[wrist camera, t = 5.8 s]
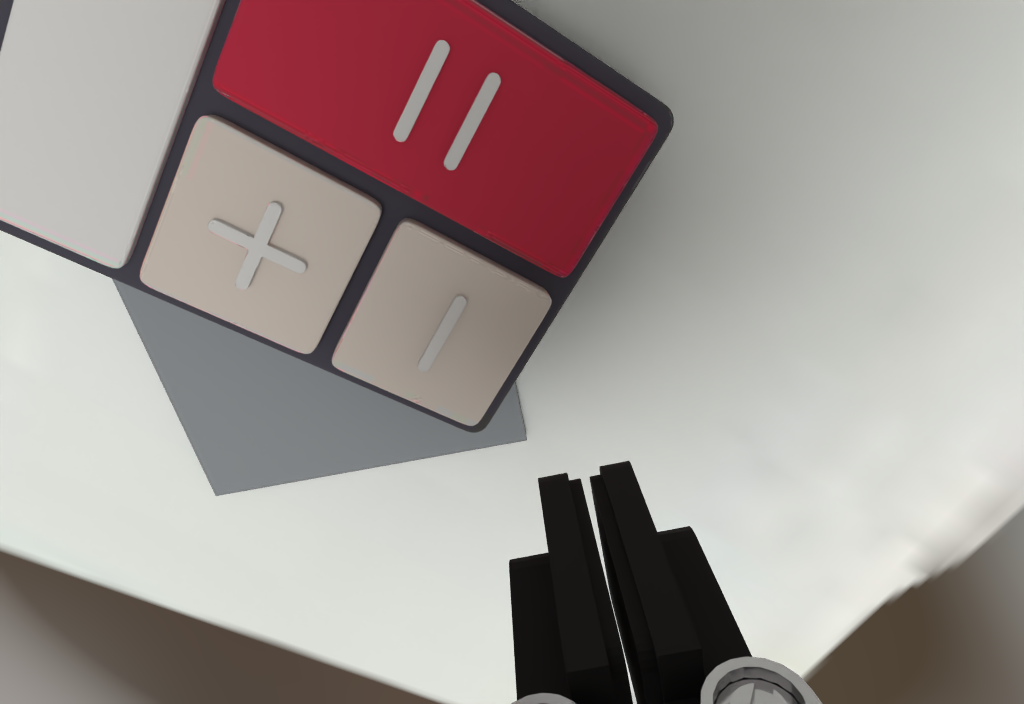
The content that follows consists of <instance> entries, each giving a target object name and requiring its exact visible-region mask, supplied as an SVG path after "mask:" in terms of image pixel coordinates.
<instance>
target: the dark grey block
mask: <svg viewBox="0 0 1024 704" xmlns="http://www.w3.org/2000/svg"><path fill="white" fill-rule="evenodd" d="M673 123H674V118H673V114H672V112H671V110H670V109H669V108H668V107H667V106H666V105H665V104H663V103H662V102H660V101H659V100H657V99H656V98H655V97H653V96H652V95H650V94H649V93H647V92H646V91H644V90H643V89H641V88H640V87H638V86H637V85H635V84H634V83H632V82H631V81H629V80H628V79H626V78H625V77H623V76H622V75H621V74H619V73H618V72H616V71H615V70H613V69H612V68H610V67H609V66H607V65H606V64H604V63H603V62H601V61H600V60H598V59H597V58H595V57H594V56H592V55H591V54H589V53H588V52H586V51H585V50H584V49H582V48H581V47H579V46H578V45H576V44H575V43H573V42H572V41H570V40H569V39H567V38H566V37H564V36H563V35H561V34H560V33H558V32H557V31H555V30H554V29H552V28H551V27H549V26H548V25H547V24H545V23H544V22H542V21H541V20H539V19H538V18H536V17H535V16H533V15H532V14H530V13H529V12H527V11H526V10H524V9H523V8H521V7H520V6H518V5H517V4H515V3H514V2H513V1H511V0H0V230H1V231H4V232H6V233H8V234H11V235H13V236H15V237H18V238H20V239H22V240H25V241H27V242H29V243H32V244H34V245H36V246H38V247H41V248H43V249H45V250H48V251H50V252H52V253H55V254H57V255H59V256H62V257H64V258H66V259H69V260H71V261H73V262H76V263H78V264H80V265H82V266H85V267H87V268H89V269H92V270H94V271H96V272H99V273H101V274H103V275H106V276H108V277H110V278H113V279H115V280H117V281H119V282H122V283H124V284H126V285H129V286H131V287H133V288H136V289H138V290H140V291H143V292H145V293H147V294H150V295H152V296H154V297H157V298H159V299H161V300H163V301H166V302H168V303H170V304H173V305H175V306H177V307H180V308H182V309H184V310H187V311H189V312H191V313H194V314H196V315H198V316H200V317H203V318H205V319H207V320H210V321H212V322H214V323H217V324H219V325H221V326H224V327H226V328H228V329H231V330H233V331H235V332H238V333H240V334H242V335H244V336H247V337H249V338H251V339H254V340H256V341H258V342H261V343H263V344H265V345H268V346H270V347H272V348H275V349H277V350H279V351H281V352H284V353H286V354H288V355H291V356H293V357H295V358H298V359H300V360H302V361H305V362H307V363H309V364H312V365H314V366H316V367H319V368H321V369H323V370H325V371H328V372H330V373H332V374H335V375H337V376H339V377H342V378H344V379H346V380H349V381H351V382H353V383H356V384H358V385H360V386H362V387H365V388H367V389H369V390H372V391H374V392H376V393H379V394H381V395H383V396H386V397H388V398H390V399H393V400H395V401H397V402H400V403H402V404H404V405H406V406H409V407H411V408H413V409H416V410H418V411H420V412H423V413H425V414H427V415H430V416H432V417H434V418H437V419H439V420H441V421H444V422H446V423H448V424H450V425H453V426H455V427H457V428H460V429H462V430H465V431H467V432H471V433H477V432H480V431H482V430H484V429H485V428H486V427H487V425H488V424H489V422H490V421H491V419H492V418H493V416H494V415H495V413H496V411H497V410H498V408H499V406H500V405H501V403H502V402H503V400H504V398H505V397H506V395H507V394H508V392H509V390H510V389H511V387H512V386H513V384H514V382H515V381H516V379H517V378H518V376H519V374H520V373H521V371H522V370H523V368H524V366H525V365H526V363H527V362H528V360H529V358H530V357H531V355H532V354H533V352H534V350H535V349H536V347H537V346H538V344H539V342H540V341H541V339H542V338H543V336H544V334H545V333H546V331H547V329H548V328H549V326H550V325H551V323H552V321H553V320H554V318H555V317H556V315H557V313H558V312H559V310H560V309H561V307H562V305H563V304H564V302H565V301H566V299H567V297H568V296H569V294H570V293H571V291H572V289H573V288H574V286H575V285H576V283H577V281H578V280H579V278H580V277H581V275H582V273H583V272H584V270H585V269H586V267H587V265H588V264H589V262H590V261H591V259H592V257H593V256H594V254H595V252H596V251H597V249H598V248H599V246H600V244H601V243H602V241H603V240H604V238H605V236H606V235H607V233H608V232H609V230H610V228H611V227H612V225H613V224H614V222H615V220H616V219H617V217H618V216H619V214H620V212H621V211H622V209H623V208H624V206H625V204H626V203H627V201H628V200H629V198H630V196H631V195H632V193H633V192H634V190H635V188H636V187H637V185H638V184H639V182H640V180H641V179H642V177H643V175H644V174H645V172H646V171H647V169H648V167H649V166H650V164H651V163H652V161H653V159H654V158H655V156H656V155H657V153H658V151H659V150H660V148H661V147H662V145H663V143H664V142H665V140H666V139H667V137H668V135H669V133H670V131H671V130H672V127H673Z"/></svg>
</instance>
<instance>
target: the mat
mask: <svg viewBox="0 0 1024 704" xmlns="http://www.w3.org/2000/svg"><path fill="white" fill-rule="evenodd" d="M112 279H113V278H112ZM113 281H114V283H115V286H116V288H117V290H118V292H119V294H120V296H121V298H122V300H123V302H124V304H125V307H126V309H127V311H128V313H129V315H130V317H131V319H132V321H133V323H134V325H135V327H136V330H137V332H138V334H139V336H140V338H141V340H142V342H143V344H144V346H145V348H146V351H147V353H148V355H149V357H150V359H151V361H152V363H153V365H154V367H155V369H156V372H157V374H158V376H159V378H160V380H161V382H162V384H163V386H164V388H165V390H166V392H167V395H168V397H169V399H170V401H171V403H172V405H173V407H174V409H175V411H176V413H177V416H178V418H179V420H180V422H181V424H182V426H183V428H184V430H185V432H186V434H187V437H188V439H189V441H190V443H191V445H192V447H193V449H194V451H195V453H196V455H197V457H198V460H199V462H200V464H201V466H202V468H203V470H204V472H205V474H206V476H207V478H208V481H209V483H210V485H211V487H212V489H213V491H214V493H215V495H216V496H219V495H224V494H230V493H236V492H241V491H247V490H252V489H258V488H263V487H269V486H274V485H280V484H286V483H291V482H297V481H302V480H308V479H313V478H319V477H325V476H330V475H336V474H341V473H347V472H352V471H358V470H364V469H369V468H375V467H380V466H386V465H391V464H397V463H403V462H408V461H414V460H419V459H425V458H430V457H436V456H442V455H447V454H453V453H458V452H464V451H469V450H475V449H481V448H486V447H492V446H497V445H503V444H508V443H514V442H520V441H525V440H527V438H526V432H525V427H524V422H523V417H522V412H521V407H520V402H519V397H518V392H517V388H516V383H515V382H514V384H513V386H512V387H511V389H510V390H509V392H508V394H507V395H506V397H505V398H504V400H503V402H502V403H501V405H500V406H499V408H498V410H497V411H496V413H495V415H494V416H493V418H492V419H491V421H490V422H489V424H488V425H487V427H486V428H485V429H484V430H482V431H480V432H477V433H471V432H467V431H465V430H462V429H460V428H457V427H455V426H453V425H450V424H448V423H446V422H444V421H441V420H439V419H437V418H434V417H432V416H430V415H427V414H425V413H423V412H420V411H418V410H416V409H413V408H411V407H409V406H406V405H404V404H402V403H400V402H397V401H395V400H393V399H390V398H388V397H386V396H383V395H381V394H379V393H376V392H374V391H372V390H369V389H367V388H365V387H362V386H360V385H358V384H356V383H353V382H351V381H349V380H346V379H344V378H342V377H339V376H337V375H335V374H332V373H330V372H328V371H325V370H323V369H321V368H319V367H316V366H314V365H312V364H309V363H307V362H305V361H302V360H300V359H298V358H295V357H293V356H291V355H288V354H286V353H284V352H281V351H279V350H277V349H275V348H272V347H270V346H268V345H265V344H263V343H261V342H258V341H256V340H254V339H251V338H249V337H247V336H244V335H242V334H240V333H238V332H235V331H233V330H231V329H228V328H226V327H224V326H221V325H219V324H217V323H214V322H212V321H210V320H207V319H205V318H203V317H200V316H198V315H196V314H194V313H191V312H189V311H187V310H184V309H182V308H180V307H177V306H175V305H173V304H170V303H168V302H166V301H163V300H161V299H159V298H157V297H154V296H152V295H150V294H147V293H145V292H143V291H140V290H138V289H136V288H133V287H131V286H129V285H126V284H124V283H122V282H119V281H117V280H115V279H113Z"/></svg>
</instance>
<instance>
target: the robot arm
mask: <svg viewBox="0 0 1024 704" xmlns="http://www.w3.org/2000/svg"><path fill="white" fill-rule="evenodd" d="M538 482H539V489H540V496H541V503H542V510H543V517H544V524H545V531H546V538H547V545H548V552H549V553H544V554H538V555H533V556H528V557H522V558H517V559H512V560H510V562H509V572H510V589H511V605H512V622H513V639H514V656H515V673H516V689H517V701H515V702H513V703H512V704H633V702H632V696H631V690H630V684H629V678H628V673H627V668H626V663H625V658H624V654H623V649H622V645H621V641H620V637H619V632H620V636H621V640H622V644H623V648H624V652H625V656H626V660H627V664H628V668H629V672H630V676H631V680H632V684H633V689H634V693H635V697H636V701H637V704H822V703H821V701H820V700H819V699H818V697H817V696H816V695H815V693H814V692H813V690H812V689H811V688H810V687H809V686H808V685H807V684H806V683H805V681H804V680H803V679H802V678H801V677H800V676H799V675H798V674H796V673H795V672H793V671H792V670H790V669H788V668H787V667H785V666H784V665H782V664H780V663H777V662H774V661H771V660H768V659H765V658H757V657H752V655H751V653H750V651H749V649H748V647H747V645H746V643H745V640H744V638H743V636H742V634H741V632H740V630H739V627H738V625H737V623H736V621H735V619H734V617H733V615H732V612H731V610H730V608H729V606H728V604H727V602H726V600H725V597H724V595H723V593H722V591H721V589H720V587H719V584H718V582H717V580H716V578H715V576H714V574H713V572H712V569H711V567H710V565H709V563H708V561H707V559H706V556H705V554H704V552H703V550H702V548H701V546H700V544H699V541H698V539H697V537H696V535H695V533H694V531H693V530H692V528H691V527H690V526H688V527H683V528H677V529H672V530H667V531H661V532H657V531H656V528H655V525H654V523H653V520H652V518H651V515H650V512H649V510H648V507H647V505H646V502H645V499H644V497H643V494H642V492H641V489H640V486H639V484H638V481H637V479H636V476H635V473H634V471H633V468H632V466H631V463H630V462H629V461H626V462H621V463H615V464H610V465H605V466H600V475H596V476H591V477H590V483H591V488H592V494H593V500H594V505H595V511H596V517H597V522H598V528H599V534H600V539H601V545H602V551H603V557H604V562H605V568H606V574H607V579H608V585H609V590H610V595H611V600H612V604H613V608H614V612H615V616H616V620H617V624H618V628H619V632H618V628H617V624H616V620H615V616H614V612H613V608H612V604H611V600H610V596H609V592H608V588H607V584H606V580H605V576H604V572H603V568H602V564H601V560H600V556H599V551H598V547H597V543H596V539H595V535H594V531H593V527H592V523H591V519H590V515H589V511H588V507H587V503H586V499H585V495H584V491H583V487H582V483H581V479H575V480H570V481H569V479H568V474H567V473H563V474H558V475H553V476H547V477H542V478H538Z"/></svg>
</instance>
